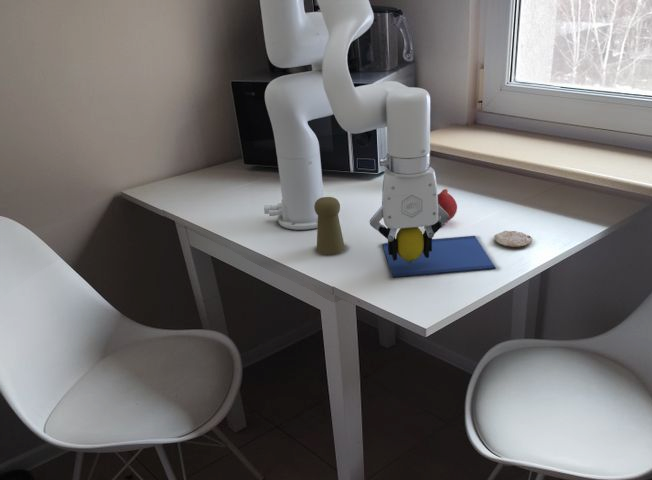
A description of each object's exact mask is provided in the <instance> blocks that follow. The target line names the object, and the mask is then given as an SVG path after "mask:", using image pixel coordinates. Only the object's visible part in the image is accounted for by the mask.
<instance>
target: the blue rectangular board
mask: <svg viewBox="0 0 652 480" xmlns="http://www.w3.org/2000/svg"><path fill="white" fill-rule="evenodd" d="M382 249H383V251H384V254H385V257H386V261H387V264H388V267H389V269H390V273H391V276H392V279H397V278H407V277H419V276H430V275H441V274H454V273H465V272H476V271H487V270H496V266H495V264H494V263H493V261H492V260H491V259H490V257H489V255H488V253H487V252H486V251H485V249H484V248H483V246H482V244H481V243H480V240H478V238H477V236H476V235H467V236H455V237H445V238H432V251H430V252H429V258H426V257H425V256H424V254H423V252H422V254H421V256H420V257H419V258H418V259H416V260H413V261H412V262H411V263H409V262H408V261H407V260H404V259H402V258H401V257H400V256H399V255H398V253H397V260H394V261H393V258H392V255H389V254H388V242H385V243H384V242H383V243H382Z"/></svg>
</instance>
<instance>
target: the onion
mask: <svg viewBox="0 0 652 480" xmlns="http://www.w3.org/2000/svg"><path fill="white" fill-rule="evenodd" d="M448 192H449V191H448V188H443V189H442V190H441V191H440V192H439V193H437V194H438V204H439V205H440V206H441V207H442V208H443V209H444V210H445V211H446V212H447V213H448V215H449V216H450V219H449V220H448V221H447V222H446V223H444V224H443V225H445V224H447V223H448V222H449V221H450V220H452V219H454V217H455V215H456V214H457V211H458V204H457V201H456V200H455V198H454V197H453V196H452V195H451V194H450V193H448ZM439 216H440V215H439V214H438V218H439Z"/></svg>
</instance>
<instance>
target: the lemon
mask: <svg viewBox="0 0 652 480" xmlns="http://www.w3.org/2000/svg"><path fill="white" fill-rule="evenodd" d="M423 234H424V233H423V231H422V230H421V229H420V227H411V228H399V230H397V232H396V235H395V239H396V241H397V253H398V255H399V256H400V257H401V258H402V259H404V260H407V261H408V262H409V263H411V262H412V261H413V260H416V259H418V258H419V257H420V256H421V254H422V252H423V250H424V237H423Z"/></svg>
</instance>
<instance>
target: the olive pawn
mask: <svg viewBox="0 0 652 480" xmlns="http://www.w3.org/2000/svg"><path fill="white" fill-rule="evenodd" d="M314 209H315V212H316V214H317V215H318V226H317V228H316V233H317V234H316V252H317V253H318V254H320V255H323V256H333V255H334V256H335V255H339V254H342V253H343V252H344V251H345V250H346V246H345V241H344V236H343V232H342V227H341V223H340V218H339V213H340V211H341V204H340V201H339V200H338V199H337V198H336V197H333V196H324V197H322V198H319V199H318V200H317V201H316V202H315V206H314Z"/></svg>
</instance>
